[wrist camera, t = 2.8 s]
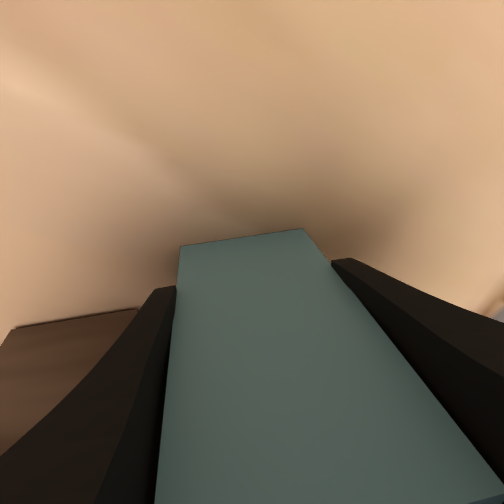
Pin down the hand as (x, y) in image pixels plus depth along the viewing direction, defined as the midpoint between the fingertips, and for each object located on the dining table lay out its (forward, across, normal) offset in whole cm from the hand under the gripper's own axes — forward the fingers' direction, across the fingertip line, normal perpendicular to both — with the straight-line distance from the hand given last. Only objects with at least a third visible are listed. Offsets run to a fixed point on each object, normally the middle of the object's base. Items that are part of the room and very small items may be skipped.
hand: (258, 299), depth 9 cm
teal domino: (+3, 0, 0) cm, 3 cm away
